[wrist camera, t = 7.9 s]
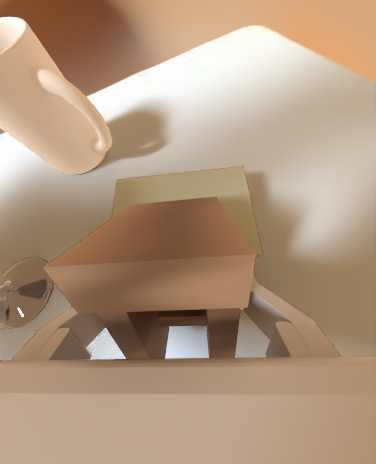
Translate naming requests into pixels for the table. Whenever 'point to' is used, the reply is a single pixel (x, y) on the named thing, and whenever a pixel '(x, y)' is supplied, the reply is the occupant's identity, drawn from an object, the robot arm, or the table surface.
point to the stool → (161, 275)
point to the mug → (46, 105)
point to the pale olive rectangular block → (195, 195)
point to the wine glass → (23, 292)
